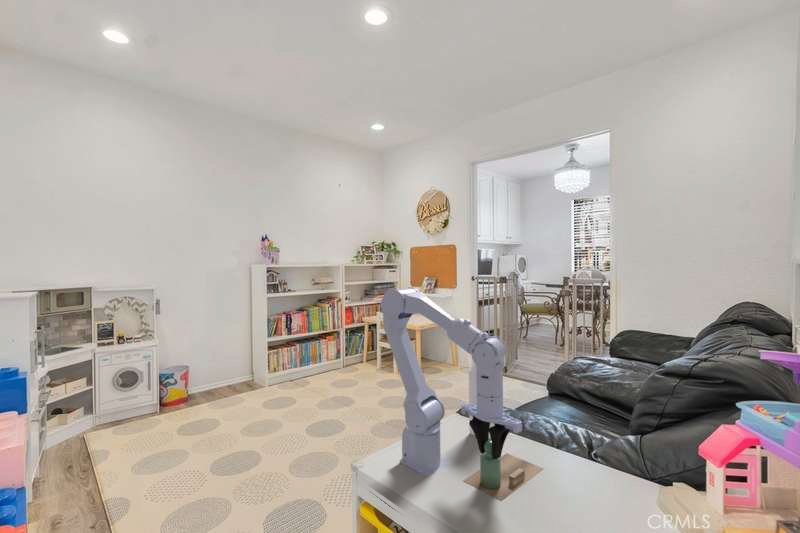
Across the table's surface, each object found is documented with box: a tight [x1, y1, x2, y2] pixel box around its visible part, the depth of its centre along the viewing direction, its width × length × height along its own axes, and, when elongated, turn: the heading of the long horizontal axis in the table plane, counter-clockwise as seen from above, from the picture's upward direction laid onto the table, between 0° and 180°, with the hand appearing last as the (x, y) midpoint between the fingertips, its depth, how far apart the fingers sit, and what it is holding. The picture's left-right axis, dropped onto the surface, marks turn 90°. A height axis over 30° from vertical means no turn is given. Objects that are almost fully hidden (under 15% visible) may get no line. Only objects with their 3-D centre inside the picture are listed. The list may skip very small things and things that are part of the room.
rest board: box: [462, 453, 545, 502], centre depth 87 cm, size 10×18×2 cm, turn 132°
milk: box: [468, 362, 495, 440], centre depth 108 cm, size 6×6×22 cm
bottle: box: [479, 439, 501, 490], centre depth 83 cm, size 4×4×9 cm
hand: (490, 454), depth 83 cm, fingers closed on bottle, 3 cm apart
